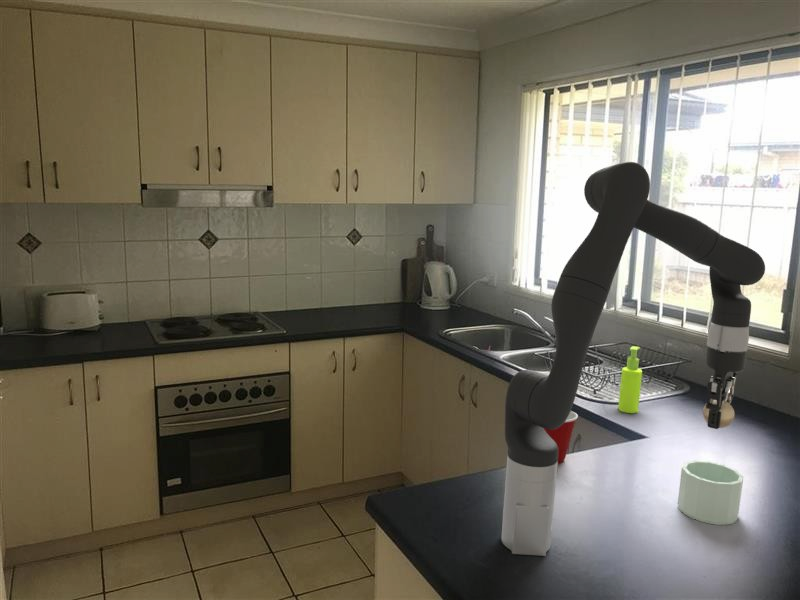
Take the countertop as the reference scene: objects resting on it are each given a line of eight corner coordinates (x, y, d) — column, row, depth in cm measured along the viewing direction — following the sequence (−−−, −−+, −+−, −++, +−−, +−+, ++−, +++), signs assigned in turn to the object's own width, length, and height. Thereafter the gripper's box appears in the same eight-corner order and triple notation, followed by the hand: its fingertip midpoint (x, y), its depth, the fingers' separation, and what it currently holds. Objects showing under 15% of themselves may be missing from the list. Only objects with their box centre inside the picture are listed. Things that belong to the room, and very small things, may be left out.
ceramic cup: (747, 526, 137) (753, 485, 136) (689, 523, 138) (694, 482, 136) (723, 500, 149) (728, 462, 147) (670, 497, 149) (674, 459, 148)
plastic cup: (542, 446, 176) (546, 403, 174) (581, 458, 169) (585, 413, 167) (522, 458, 167) (525, 412, 165) (561, 471, 161) (566, 423, 159)
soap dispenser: (640, 408, 210) (647, 346, 207) (635, 414, 205) (642, 351, 201) (621, 404, 214) (627, 343, 210) (616, 410, 208) (622, 347, 204)
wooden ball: (737, 433, 137) (741, 405, 136) (708, 431, 138) (711, 403, 137) (725, 422, 143) (728, 395, 142) (696, 421, 143) (699, 394, 142)
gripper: (716, 337, 145) (707, 411, 148) (698, 348, 134) (688, 428, 137) (754, 343, 141) (744, 419, 143) (738, 355, 129) (728, 437, 132)
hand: (717, 423), depth 140 cm, fingers closed on wooden ball, 6 cm apart
